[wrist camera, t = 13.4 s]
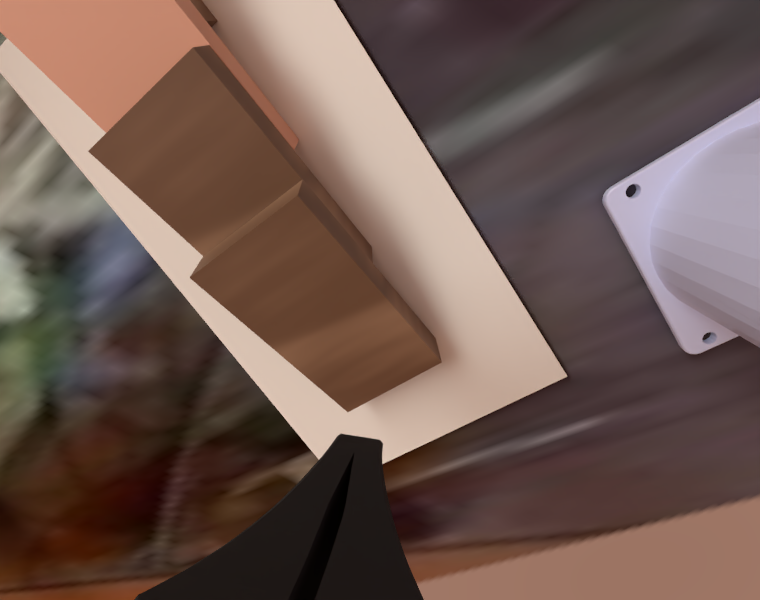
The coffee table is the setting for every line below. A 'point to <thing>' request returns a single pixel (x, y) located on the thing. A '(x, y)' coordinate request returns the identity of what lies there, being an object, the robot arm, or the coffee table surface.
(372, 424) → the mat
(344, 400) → the tile
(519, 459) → the coffee table surface
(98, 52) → the tile
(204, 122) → the tile
